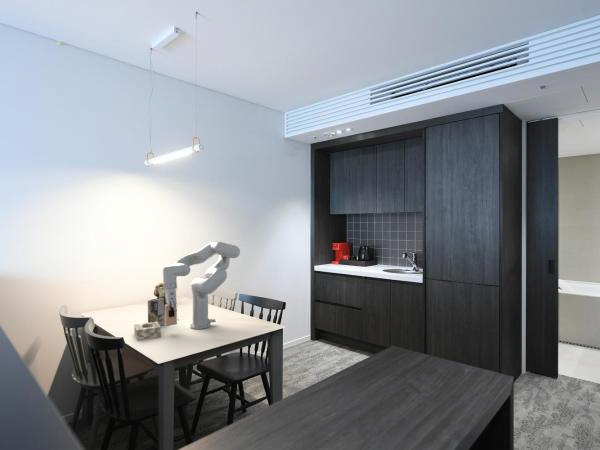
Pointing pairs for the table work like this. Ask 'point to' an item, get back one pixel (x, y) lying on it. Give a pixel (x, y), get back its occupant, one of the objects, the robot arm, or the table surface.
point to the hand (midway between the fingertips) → (170, 315)
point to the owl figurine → (160, 292)
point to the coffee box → (156, 311)
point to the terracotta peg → (168, 319)
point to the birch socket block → (147, 330)
